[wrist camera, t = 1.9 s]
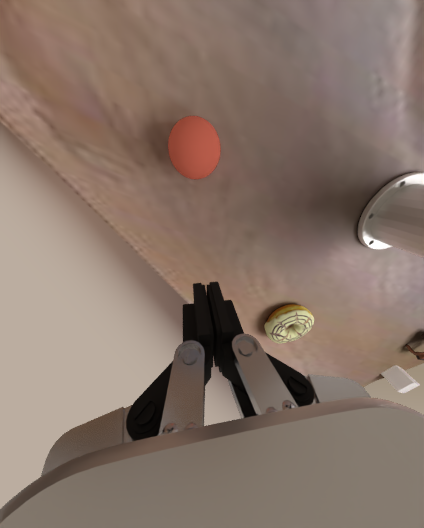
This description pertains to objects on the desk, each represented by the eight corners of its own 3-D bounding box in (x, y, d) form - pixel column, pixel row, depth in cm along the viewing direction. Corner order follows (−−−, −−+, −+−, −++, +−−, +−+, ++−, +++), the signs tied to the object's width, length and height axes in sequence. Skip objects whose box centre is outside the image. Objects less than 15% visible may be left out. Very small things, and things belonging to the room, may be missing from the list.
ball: (216, 124, 19) (227, 110, 15) (215, 178, 22) (224, 181, 17) (167, 121, 19) (161, 105, 14) (172, 177, 21) (169, 180, 17)
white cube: (387, 375, 66) (404, 393, 61) (380, 373, 64) (397, 391, 59) (401, 367, 64) (420, 385, 59) (394, 364, 62) (413, 382, 57)
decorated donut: (253, 323, 39) (259, 337, 35) (289, 293, 35) (300, 305, 32) (278, 338, 43) (286, 351, 40) (313, 312, 40) (325, 325, 37)
